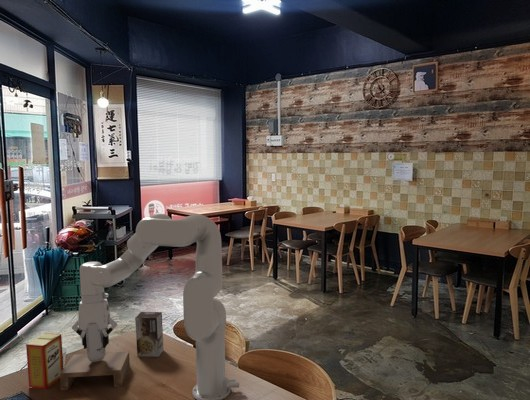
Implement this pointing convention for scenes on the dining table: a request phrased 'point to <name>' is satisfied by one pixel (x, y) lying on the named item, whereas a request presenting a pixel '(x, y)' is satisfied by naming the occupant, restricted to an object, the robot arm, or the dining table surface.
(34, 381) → the baking soda box
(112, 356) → the walnut stand
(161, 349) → the coffee box
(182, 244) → the robot arm
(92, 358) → the energy drink can
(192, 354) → the dining table surface
